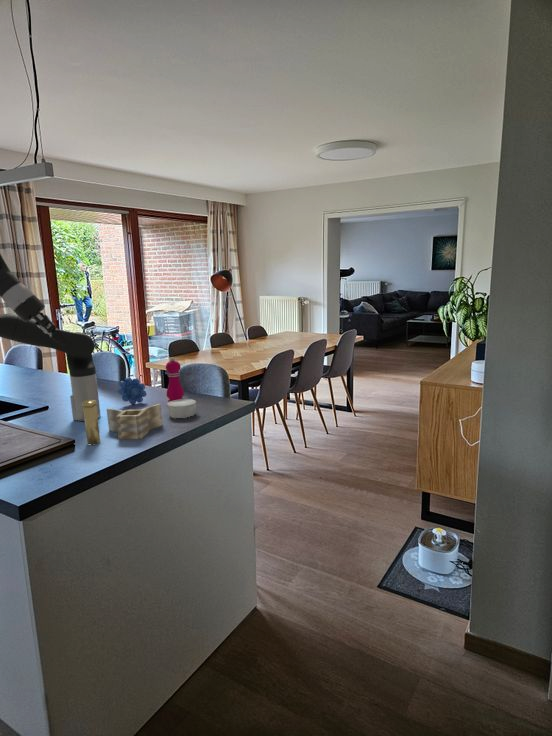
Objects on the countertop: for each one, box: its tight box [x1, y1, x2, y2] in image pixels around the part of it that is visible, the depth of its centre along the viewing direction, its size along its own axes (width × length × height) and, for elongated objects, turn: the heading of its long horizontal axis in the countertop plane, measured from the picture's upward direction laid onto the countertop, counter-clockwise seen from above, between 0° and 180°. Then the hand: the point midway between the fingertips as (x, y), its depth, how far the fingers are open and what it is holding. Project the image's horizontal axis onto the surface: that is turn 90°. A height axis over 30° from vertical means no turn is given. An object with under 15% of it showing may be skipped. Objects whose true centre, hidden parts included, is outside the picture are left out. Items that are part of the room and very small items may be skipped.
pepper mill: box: [165, 356, 185, 403], centre depth 200 cm, size 7×7×20 cm
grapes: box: [117, 376, 147, 405], centre depth 202 cm, size 12×7×12 cm, turn 122°
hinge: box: [106, 403, 164, 440], centre depth 166 cm, size 18×15×8 cm
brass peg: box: [82, 400, 101, 446], centre depth 155 cm, size 4×4×14 cm
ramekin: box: [166, 398, 197, 419], centre depth 184 cm, size 11×11×5 cm
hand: (64, 343), depth 145 cm, fingers open, 8 cm apart
